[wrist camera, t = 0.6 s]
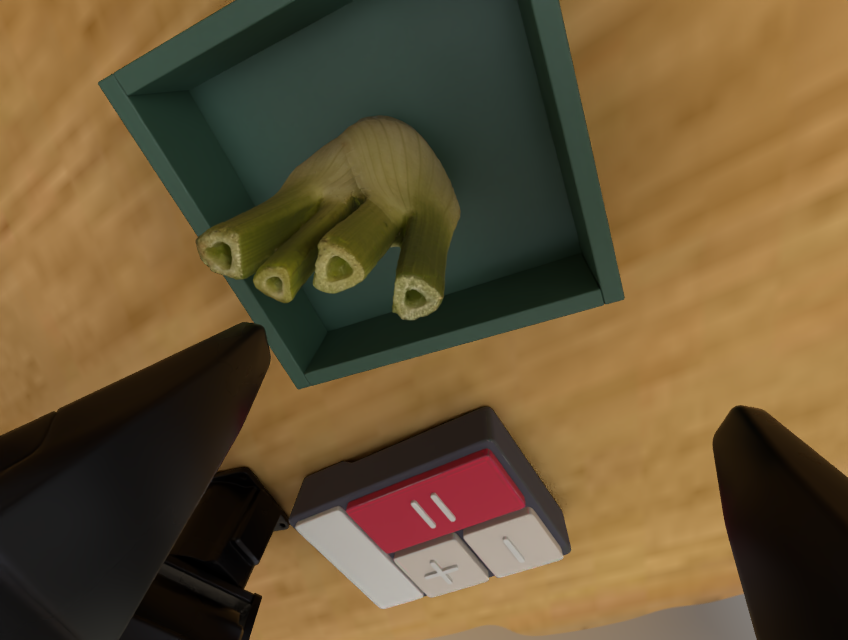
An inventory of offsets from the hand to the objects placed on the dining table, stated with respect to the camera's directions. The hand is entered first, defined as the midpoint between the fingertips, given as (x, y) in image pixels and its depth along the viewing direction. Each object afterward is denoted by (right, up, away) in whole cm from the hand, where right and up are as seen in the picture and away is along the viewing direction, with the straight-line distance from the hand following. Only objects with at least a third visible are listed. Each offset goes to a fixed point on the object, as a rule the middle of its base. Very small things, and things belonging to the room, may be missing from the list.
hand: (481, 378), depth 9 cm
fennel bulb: (-2, +8, +12) cm, 14 cm away
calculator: (-1, -11, +23) cm, 25 cm away
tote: (-2, +8, +12) cm, 15 cm away
